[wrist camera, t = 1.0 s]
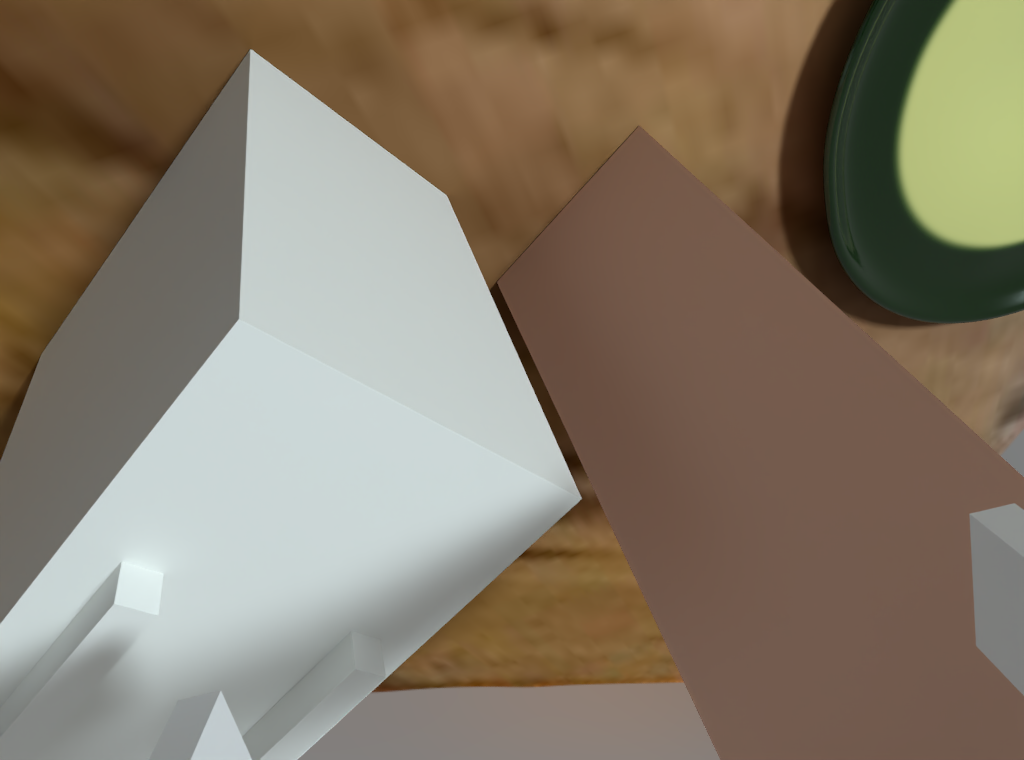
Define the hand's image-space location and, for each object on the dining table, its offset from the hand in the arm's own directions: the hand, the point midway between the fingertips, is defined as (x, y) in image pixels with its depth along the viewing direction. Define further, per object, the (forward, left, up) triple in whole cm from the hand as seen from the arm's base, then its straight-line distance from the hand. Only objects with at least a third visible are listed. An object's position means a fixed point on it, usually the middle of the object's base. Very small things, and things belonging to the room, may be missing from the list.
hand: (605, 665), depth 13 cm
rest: (-2, -9, -26) cm, 28 cm away
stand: (+14, +2, -26) cm, 30 cm away
